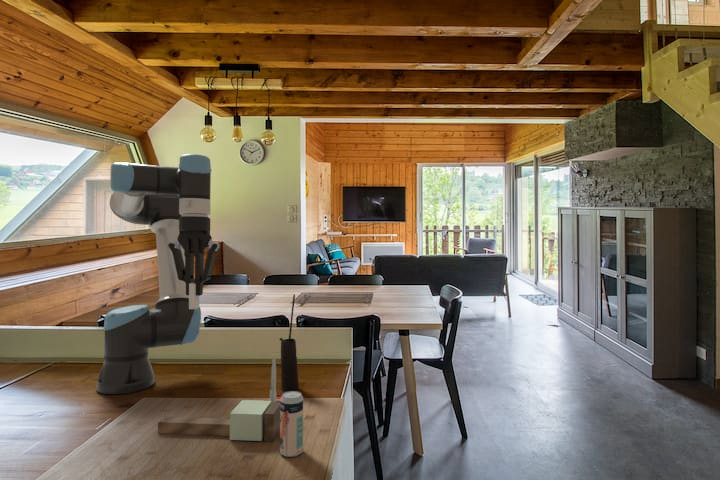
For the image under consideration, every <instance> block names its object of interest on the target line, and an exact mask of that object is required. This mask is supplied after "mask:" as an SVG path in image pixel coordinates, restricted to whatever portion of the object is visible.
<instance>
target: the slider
mask: <svg viewBox="0 0 720 480" xmlns="http://www.w3.org/2000/svg"><path fill="white" fill-rule="evenodd" d="M271 404H272V401H264V400H260V399H259V400H257V399H256V400H255V399H242V400H241V401H240V402H238V404H237V405H236V407H234V409H232V410H231V412H230V413H229V419H230V436H229V441H252V442H253V441H255V442H257V441H258V442H262V441H263V439H264V420H265V412H266V411H267V410H268V408H269V407H270V405H271Z"/></svg>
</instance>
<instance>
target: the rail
mask: <svg viewBox="0 0 720 480" xmlns="http://www.w3.org/2000/svg"><path fill="white" fill-rule="evenodd" d="M157 434H169V435H195V436H196V435H198V436H199V435H201V436H223V437H224V436H228V437H230V418H221V417H220V418H218V417H217V418H216V417H214V418H213V417H211V418H210V417H188V416H187V417H186V416H164V417H163V418H161V419H160V420H159V421H158V422H157ZM279 434H280V402H273V403H272V404H271V405H270V407H269V408H268V410H267V411H266V412H265V420H264V438H263V439H264V440H263V441H264V442H267V443H268V442H275V440H276V439H277V436H278V435H279Z"/></svg>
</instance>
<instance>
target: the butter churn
mask: <svg viewBox="0 0 720 480" xmlns="http://www.w3.org/2000/svg"><path fill="white" fill-rule="evenodd" d="M295 299H296V295H295V294H293V297H292V306H291V315H290V323H289V334H288V338H287V339H283V338H282V337H280V338H279V341H280V377H281V378H280V381H281V382H280V384H281V385H280V389H281V391H282V392H283V393H286V392H290V391H296V392H298V390H299V389H300V385H299V382H300V381H299V371H298V357H297V342H296V339H295V338H291V337H292V331H293V330H292V327H293V319H294V307H295Z"/></svg>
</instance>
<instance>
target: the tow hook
mask: <svg viewBox="0 0 720 480" xmlns="http://www.w3.org/2000/svg"><path fill="white" fill-rule="evenodd" d="M271 359H272V360H271V361H272V362H271V364H272V366H271V368H270V369H271V371H270V390H269V398H266V399H265V400H267V399H270V401H272V403H273V402H278V401H276V399H281V397H282V396H277V392H278V391H277V366H276V363H277V362H276V359H277V358H276V356H275V357H272V358H271Z"/></svg>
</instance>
